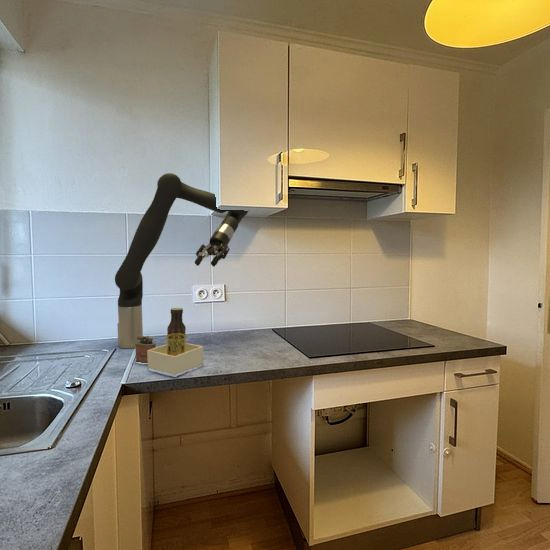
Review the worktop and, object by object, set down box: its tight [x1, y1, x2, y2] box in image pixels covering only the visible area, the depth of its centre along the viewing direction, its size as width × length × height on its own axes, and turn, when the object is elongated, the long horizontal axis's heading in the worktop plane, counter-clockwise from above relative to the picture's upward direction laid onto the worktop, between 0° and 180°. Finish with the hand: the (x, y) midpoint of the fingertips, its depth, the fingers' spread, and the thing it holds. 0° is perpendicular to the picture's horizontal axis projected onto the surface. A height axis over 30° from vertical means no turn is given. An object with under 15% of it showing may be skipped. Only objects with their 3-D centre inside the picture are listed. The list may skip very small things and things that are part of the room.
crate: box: [147, 342, 204, 375], centre depth 115 cm, size 13×13×7 cm
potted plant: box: [135, 335, 157, 363], centre depth 120 cm, size 8×3×10 cm, turn 74°
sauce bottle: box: [166, 307, 187, 356], centre depth 115 cm, size 7×6×20 cm
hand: (204, 264), depth 134 cm, fingers open, 8 cm apart
